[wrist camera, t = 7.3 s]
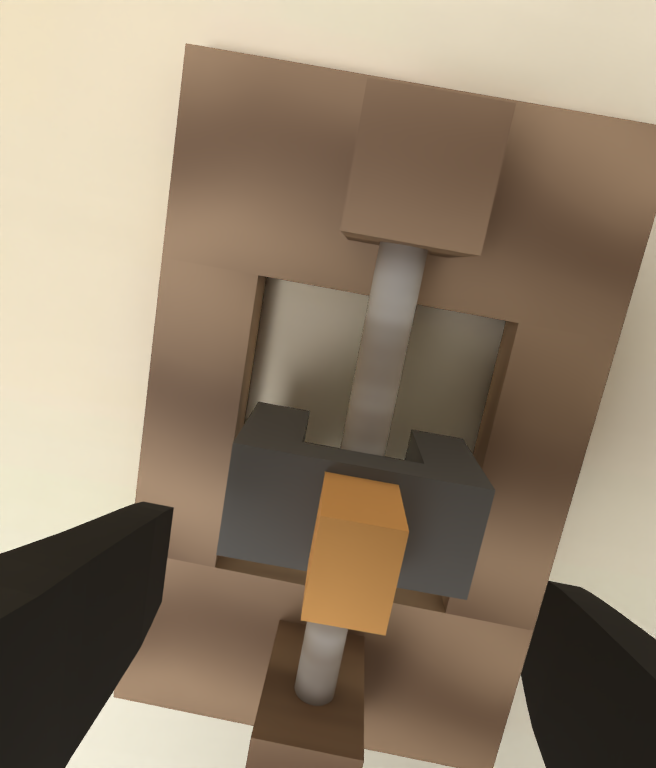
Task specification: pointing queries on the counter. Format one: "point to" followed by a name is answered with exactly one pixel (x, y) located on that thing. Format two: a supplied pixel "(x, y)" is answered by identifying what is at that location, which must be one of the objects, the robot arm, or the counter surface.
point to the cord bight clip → (354, 517)
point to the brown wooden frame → (377, 380)
